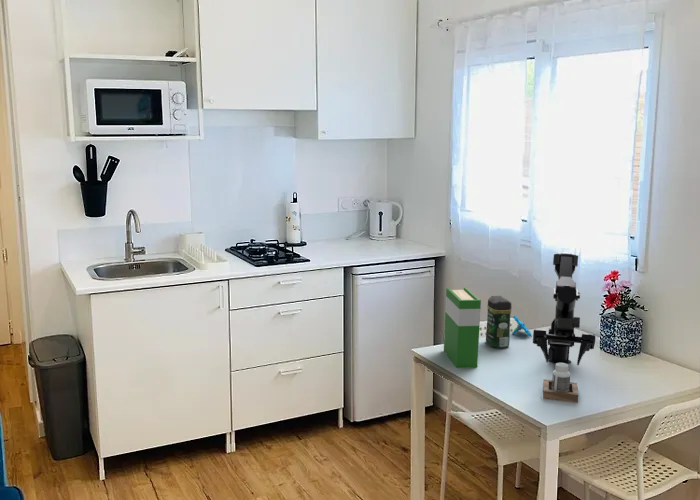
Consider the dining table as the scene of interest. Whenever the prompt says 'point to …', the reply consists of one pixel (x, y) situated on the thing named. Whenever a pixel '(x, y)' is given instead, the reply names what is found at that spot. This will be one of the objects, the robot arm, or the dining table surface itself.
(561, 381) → the pill bottle
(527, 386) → the dining table surface
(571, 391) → the socket block
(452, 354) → the hardback book
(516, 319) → the blue angled piece
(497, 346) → the coffee jar
